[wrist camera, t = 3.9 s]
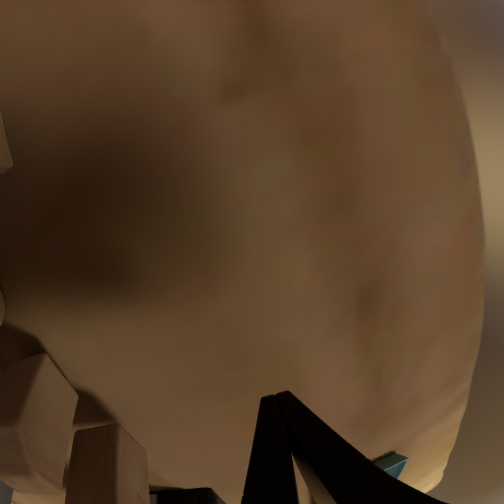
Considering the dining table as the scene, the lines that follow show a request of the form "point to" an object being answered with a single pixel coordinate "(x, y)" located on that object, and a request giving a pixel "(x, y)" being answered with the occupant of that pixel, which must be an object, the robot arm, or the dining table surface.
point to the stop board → (5, 493)
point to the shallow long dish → (393, 464)
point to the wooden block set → (61, 432)
